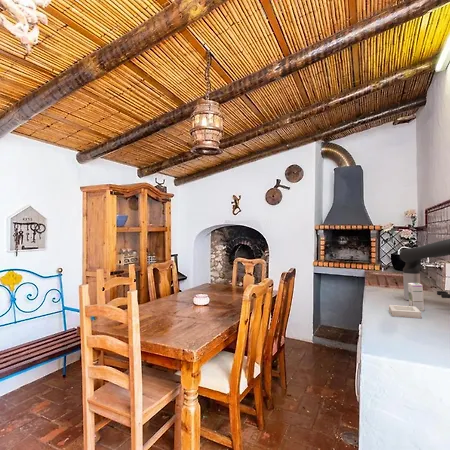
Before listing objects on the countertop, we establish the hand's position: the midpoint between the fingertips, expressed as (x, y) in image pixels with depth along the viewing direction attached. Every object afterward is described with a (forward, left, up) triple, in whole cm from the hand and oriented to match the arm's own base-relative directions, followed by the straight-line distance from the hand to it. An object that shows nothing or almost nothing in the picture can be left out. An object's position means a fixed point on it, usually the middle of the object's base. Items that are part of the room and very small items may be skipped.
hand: (439, 294), depth 165 cm
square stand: (+13, -19, -9) cm, 25 cm away
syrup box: (0, -11, -9) cm, 14 cm away
